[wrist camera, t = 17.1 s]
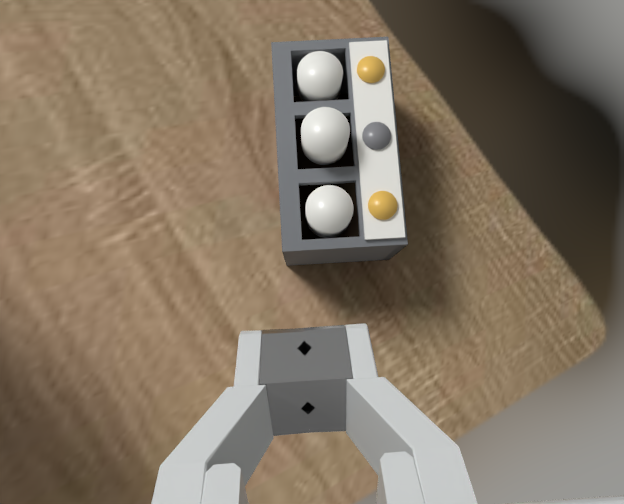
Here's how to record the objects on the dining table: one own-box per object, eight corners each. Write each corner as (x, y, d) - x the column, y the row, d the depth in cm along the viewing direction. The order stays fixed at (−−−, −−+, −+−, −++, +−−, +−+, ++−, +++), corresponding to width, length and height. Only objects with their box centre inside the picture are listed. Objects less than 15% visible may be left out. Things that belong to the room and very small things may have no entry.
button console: (389, 259, 44) (407, 244, 36) (286, 265, 43) (282, 251, 35) (374, 86, 46) (388, 36, 38) (277, 91, 46) (271, 42, 38)
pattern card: (404, 237, 36) (405, 236, 35) (364, 240, 36) (365, 238, 35) (386, 42, 38) (387, 38, 38) (349, 44, 38) (349, 40, 38)
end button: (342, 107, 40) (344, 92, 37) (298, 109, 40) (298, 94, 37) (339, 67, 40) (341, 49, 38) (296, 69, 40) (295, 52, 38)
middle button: (348, 163, 37) (351, 152, 35) (302, 166, 37) (302, 154, 35) (345, 120, 38) (348, 105, 35) (299, 122, 38) (299, 108, 35)
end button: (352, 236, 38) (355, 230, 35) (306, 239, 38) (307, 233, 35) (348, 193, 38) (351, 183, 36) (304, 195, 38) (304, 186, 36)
